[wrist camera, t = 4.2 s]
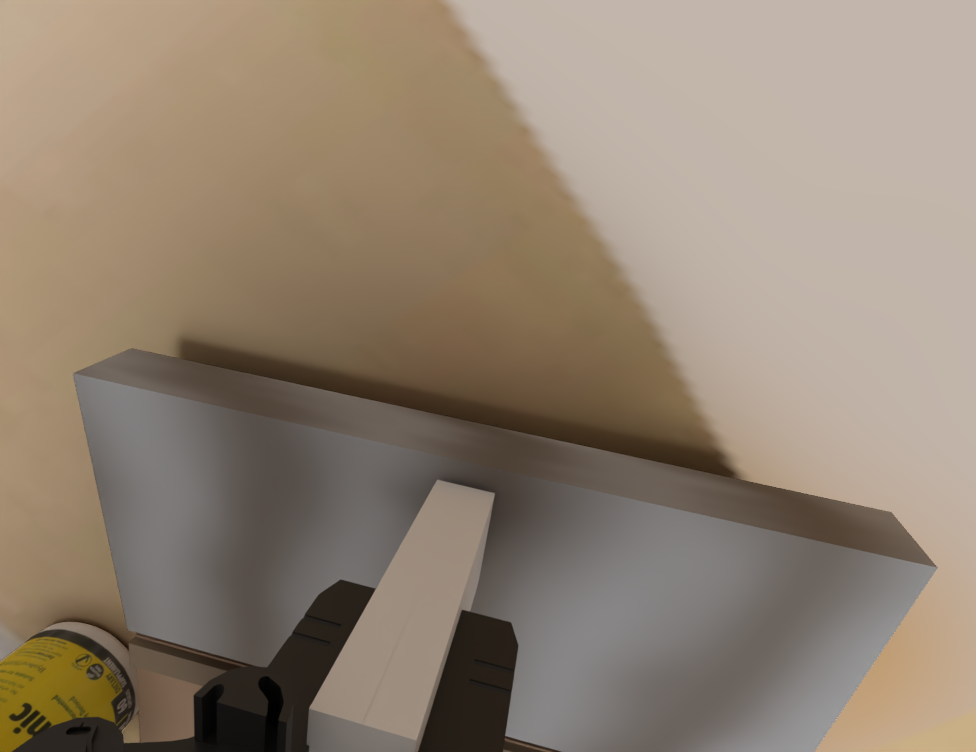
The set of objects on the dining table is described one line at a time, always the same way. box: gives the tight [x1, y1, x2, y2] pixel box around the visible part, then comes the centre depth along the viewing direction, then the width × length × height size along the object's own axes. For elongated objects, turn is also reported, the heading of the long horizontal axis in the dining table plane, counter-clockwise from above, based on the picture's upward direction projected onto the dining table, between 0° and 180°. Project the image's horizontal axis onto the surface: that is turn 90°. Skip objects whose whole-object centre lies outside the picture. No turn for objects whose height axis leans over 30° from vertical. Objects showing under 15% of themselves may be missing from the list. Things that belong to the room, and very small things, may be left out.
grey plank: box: [73, 348, 937, 752], centre depth 16 cm, size 22×10×2 cm, turn 81°
